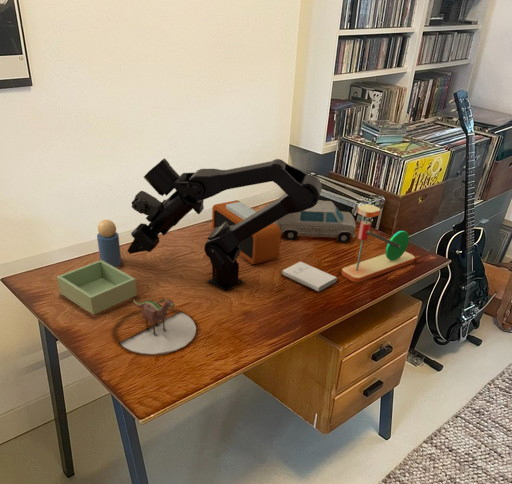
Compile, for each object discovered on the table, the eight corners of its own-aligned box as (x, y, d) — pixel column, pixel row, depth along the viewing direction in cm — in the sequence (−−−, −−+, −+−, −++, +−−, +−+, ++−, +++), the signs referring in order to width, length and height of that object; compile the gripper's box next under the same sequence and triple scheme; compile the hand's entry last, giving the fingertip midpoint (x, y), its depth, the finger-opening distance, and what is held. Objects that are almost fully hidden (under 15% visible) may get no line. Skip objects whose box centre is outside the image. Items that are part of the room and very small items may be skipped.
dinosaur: (212, 333, 119) (212, 291, 112) (145, 365, 108) (141, 321, 102) (164, 300, 129) (162, 261, 122) (99, 327, 118) (93, 285, 112)
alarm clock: (211, 234, 161) (211, 198, 155) (234, 229, 165) (235, 194, 159) (254, 267, 146) (257, 228, 139) (279, 260, 150) (282, 223, 143)
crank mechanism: (355, 283, 141) (368, 215, 130) (338, 273, 145) (349, 206, 134) (416, 261, 154) (432, 197, 143) (399, 252, 158) (413, 190, 147)
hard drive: (318, 292, 136) (281, 275, 143) (336, 282, 141) (300, 265, 148) (318, 287, 135) (282, 269, 142) (337, 276, 140) (301, 260, 147)
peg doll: (122, 269, 140) (118, 223, 133) (102, 271, 139) (96, 225, 131) (120, 260, 145) (115, 215, 137) (100, 262, 143) (94, 217, 135)
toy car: (354, 243, 161) (359, 212, 156) (274, 239, 161) (276, 208, 155) (349, 229, 170) (354, 199, 164) (273, 225, 169) (275, 195, 164)
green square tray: (137, 298, 129) (135, 278, 126) (93, 318, 121) (90, 297, 118) (103, 278, 136) (101, 259, 133) (60, 296, 128) (56, 276, 125)
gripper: (163, 171, 133) (127, 208, 141) (135, 196, 119) (96, 236, 126) (194, 204, 137) (156, 238, 145) (171, 233, 122) (130, 269, 130)
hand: (135, 244), depth 136 cm, fingers open, 9 cm apart
